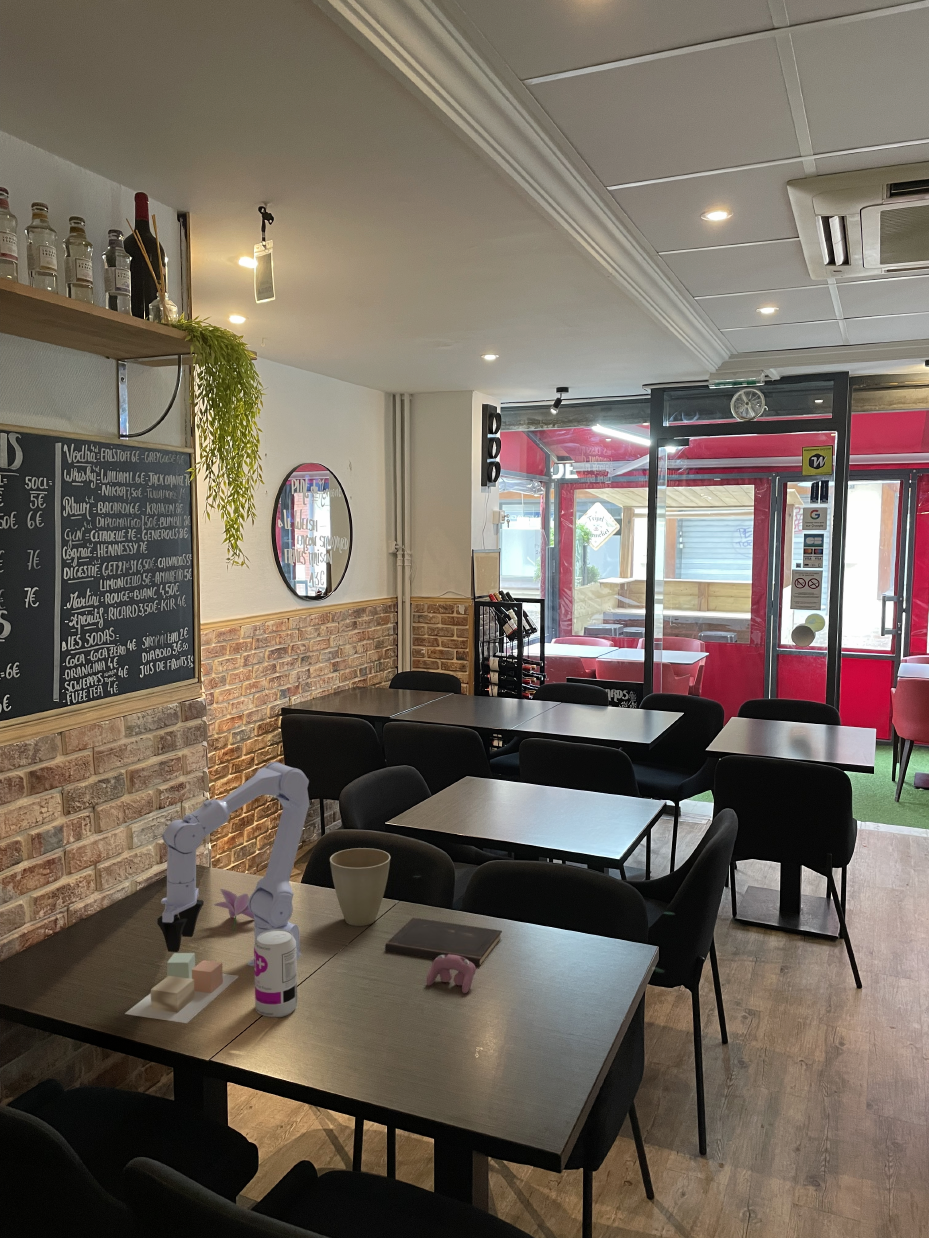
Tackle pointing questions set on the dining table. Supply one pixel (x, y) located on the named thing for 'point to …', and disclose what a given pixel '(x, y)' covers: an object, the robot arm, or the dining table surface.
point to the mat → (188, 1011)
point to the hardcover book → (443, 940)
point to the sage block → (181, 965)
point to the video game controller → (455, 963)
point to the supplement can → (275, 973)
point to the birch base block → (172, 994)
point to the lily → (235, 904)
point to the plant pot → (360, 883)
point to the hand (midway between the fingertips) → (180, 943)
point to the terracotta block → (207, 976)
